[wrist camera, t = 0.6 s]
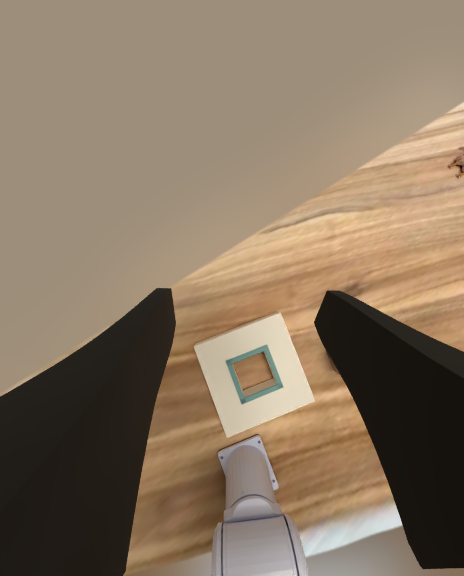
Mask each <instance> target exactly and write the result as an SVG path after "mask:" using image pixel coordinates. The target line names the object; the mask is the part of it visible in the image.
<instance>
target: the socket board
mask: <svg viewBox="0 0 464 576" xmlns="http://www.w3.org/2000/svg"><path fill="white" fill-rule="evenodd" d="M194 349H195V352H196V355H197V357H198V360H199V363H200V365H201V368H202V371H203V374H204V376H205V379H206V382H207V385H208V387H209V390H210V393H211V396H212V398H213V401H214V404H215V407H216V409H217V412H218V415H219V417H220V420H221V423H222V426H223V428H224V431H225V434H226V437H227V438H228V437H231V436H233V435H236V434H238V433H240V432H243V431H245V430H247V429H250V428H252V427H255V426H257V425H259V424H262V423H264V422H267V421H269V420H271V419H274V418H276V417H279V416H281V415H283V414H286V413H288V412H290V411H293V410H295V409H298V408H300V407H302V406H305V405H307V404H310V403H312V402H314V401H315V399H314V397H313V394H312V392H311V389H310V387H309V384H308V381H307V379H306V376H305V374H304V371H303V369H302V366H301V364H300V361H299V358H298V356H297V353H296V351H295V348H294V346H293V343H292V341H291V338H290V335H289V333H288V330H287V328H286V325H285V323H284V320H283V318H282V315H281V313H280V312H274V313H272V314H269V315H267V316H264V317H262V318H259V319H256V320H254V321H251V322H249V323H246V324H244V325H241V326H239V327H236V328H233V329H231V330H228V331H226V332H223V333H221V334H218V335H215V336H213V337H210V338H208V339H205V340H203V341H200V342H197V343H196V344H195V345H194ZM260 352H264V354H265V357H266V360H267V362H268V365H269V367H270V370H271V373H272V375H273V378H272V379H270V380H267V381H265V382H262V383H260V384H257V385H255V386H252V387H250V388H247V389H245V390H243V389H242V386H241V384H240V381H239V378H238V376H237V373H236V370H235V368H234V365H233V363H235V362H238V361H240V360H243V359H245V358H248V357H250V356H253V355H255V354H258V353H260Z"/></svg>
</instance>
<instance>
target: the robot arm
mask: <svg viewBox="0 0 464 576" xmlns="http://www.w3.org/2000/svg"><path fill="white" fill-rule="evenodd" d="M314 324H315V327H316V329H317V332H318V334H319V337H320V339H321V341H322V343H323V345H324V347H325V349H326V351H327V352H328V354H329V356H330V358H331V359H332V361H333V363H334V365H335V366H336V368H337V370H338V371H339V373H340V375H341V377H342V378H343V380H344V382H345V384H346V385H347V387H348V389H349V391H350V393H351V395H352V397H353V399H354V401H355V403H356V405H357V408H358V410H359V412H360V414H361V416H362V418H363V421H364V423H365V425H366V428H367V430H368V432H369V435H370V437H371V440H372V442H373V444H374V447H375V449H376V452H377V454H378V457H379V460H380V462H381V465H382V467H383V470H384V473H385V475H386V478H387V480H388V483H389V486H390V489H391V492H392V495H393V498H394V501H395V503H396V506H397V509H398V512H399V515H400V518H401V521H402V524H403V527H404V531H405V534H406V537H407V540H408V543H409V545H410V547H411V549H412V551H413V553H414V555H415V557H416V559H417V561H418V562H419V565H420V566H421V567H422V568H423V569H443V568H464V352H463V351H460V350H458V349H456V348H453V347H451V346H449V345H447V344H444V343H442V342H440V341H438V340H436V339H433V338H431V337H429V336H427V335H425V334H423V333H421V332H419V331H417V330H415V329H413V328H411V327H409V326H407V325H405V324H403V323H401V322H399V321H397V320H395V319H394V318H392V317H390V316H388V315H386V314H384V313H382V312H380V311H379V310H377V309H375V308H373V307H371V306H369V305H367V304H366V303H364V302H362V301H360V300H358V299H356V298H354V297H352V296H350V295H348V294H346V293H344V292H341V291H327V292H326V294H325V297H324V299H323V302H322V304H321V307H320V309H319V311H318V314H317V316H316V319H315V321H314ZM175 325H176V320H175V313H174V305H173V298H172V291H171V288H157V289H155V290H154V291H153V292H152V293H151V294H149V295H148V296H147V297H146V298H145V299H144V300H142V301H141V302H140V303H139V304H138V305H137V306H135V307H134V308H133V309H132V310H131V311H129V312H128V313H127V314H126V315H125V316H123V317H122V318H121V319H120V320H118V321H117V322H116V323H114V324H113V325H112V326H111V327H109V328H108V329H107V330H105V331H104V332H103V333H101V334H100V335H99V336H97V337H96V338H95V339H93V340H92V341H90V342H89V343H87V344H86V345H85V346H83V347H82V348H80V349H79V350H77V351H76V352H74V353H73V354H71V355H69V356H68V357H66V358H65V359H63V360H62V361H60V362H59V363H57V364H55V365H54V366H52V367H50V368H49V369H47V370H45V371H44V372H42V373H40V374H39V375H37V376H35V377H33V378H32V379H30V380H28V381H27V382H25V383H23V384H22V385H20V386H18V387H16V388H15V389H13V390H11V391H10V392H8V393H6V394H4V395H3V396H1V397H0V576H123V574H124V573H125V571H126V564H127V557H128V551H129V544H130V538H131V532H132V525H133V519H134V513H135V507H136V501H137V495H138V489H139V484H140V478H141V472H142V466H143V461H144V456H145V451H146V445H147V440H148V435H149V430H150V425H151V420H152V415H153V410H154V405H155V402H156V398H157V394H158V390H159V387H160V384H161V380H162V377H163V374H164V370H165V367H166V364H167V360H168V357H169V354H170V350H171V347H172V343H173V338H174V332H175ZM258 441H260V442H258ZM221 456H223V457H222V458H221ZM218 457H219V460H220V463H221V466H222V468H223V471H224V474H225V477H226V510H224V524H223V522H219V523H218V524H217V527H216V528H215V530H214V533H213V544H212V576H309V574H308V569H307V564H306V559H305V555H304V551H303V547H302V543H301V539H300V536H299V532H298V529H297V526H296V524H295V522H294V521H293V519H292V518H291V517H290V515H289V514H284V516H283V514H282V510H281V506H280V504H277V502H276V498H275V494H274V490H276V489H278V483H277V480H276V478H275V475H274V472H273V470H272V467H271V464H270V462H269V459H268V456H267V453H266V451H265V448H264V445H263V443H262V440H261V437H260V436H259V435H256V436H253V437H251V438H249V439H246V440H244V441H241V442H239V443H237V444H234V445H232V446H230V447H227V448H225V449H223V450H220V451H219V452H218ZM273 479H274V480H273Z"/></svg>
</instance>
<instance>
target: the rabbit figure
mask: <svg viewBox="0 0 464 576" xmlns="http://www.w3.org/2000/svg"><path fill="white" fill-rule="evenodd" d="M456 164H457V165H462V171H463V172H464V154H463V155H462V156H460V157H459V158H458V159H457V160H456V163H454V164H451V166H452V167H454V166H455V165H456ZM451 166H450V167H451ZM452 169H453V168H452ZM463 175H464V173H461V174H459V176H460V177H462V176H463ZM459 176H458V177H459Z"/></svg>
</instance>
